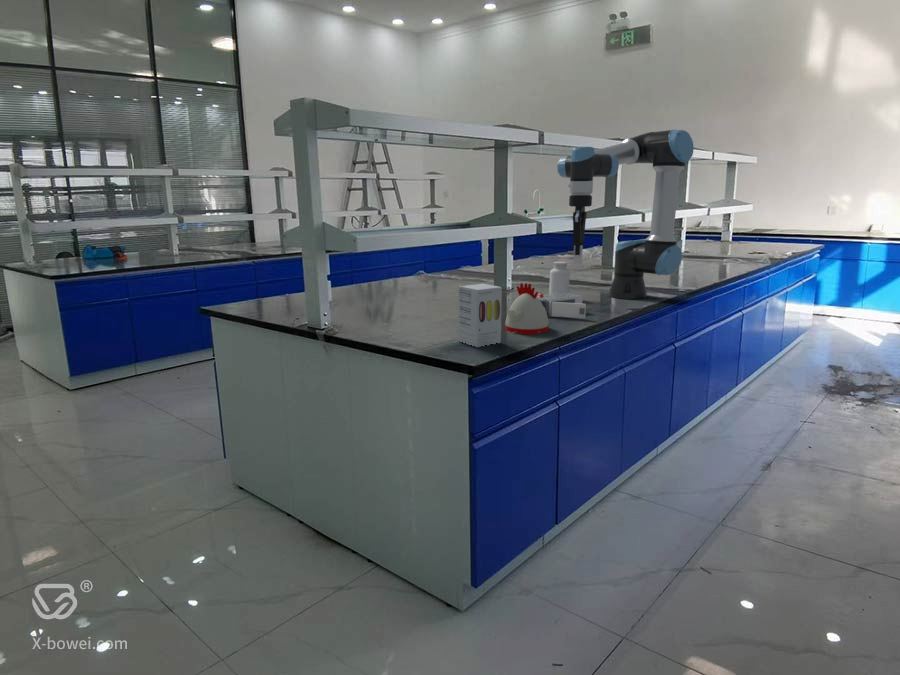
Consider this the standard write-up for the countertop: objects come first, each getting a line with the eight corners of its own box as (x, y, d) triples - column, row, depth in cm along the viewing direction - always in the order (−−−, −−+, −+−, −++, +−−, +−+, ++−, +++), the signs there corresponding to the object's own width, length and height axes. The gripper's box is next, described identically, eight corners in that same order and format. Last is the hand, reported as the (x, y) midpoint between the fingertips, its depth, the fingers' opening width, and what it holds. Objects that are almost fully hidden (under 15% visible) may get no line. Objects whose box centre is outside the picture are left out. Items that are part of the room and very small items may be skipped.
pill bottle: (568, 300, 243) (570, 263, 240) (548, 300, 245) (549, 263, 241) (569, 297, 251) (570, 261, 247) (549, 296, 252) (550, 260, 249)
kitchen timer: (524, 322, 205) (525, 278, 201) (557, 329, 195) (558, 283, 192) (496, 329, 196) (496, 283, 192) (529, 336, 186) (530, 288, 182)
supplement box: (476, 348, 173) (476, 289, 169) (457, 341, 180) (457, 285, 176) (502, 343, 179) (502, 286, 174) (482, 337, 186) (482, 282, 182)
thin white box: (585, 318, 209) (585, 303, 208) (584, 319, 208) (585, 303, 207) (549, 316, 214) (549, 301, 213) (548, 316, 212) (548, 301, 211)
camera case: (564, 307, 229) (565, 290, 228) (582, 312, 221) (582, 294, 219) (523, 312, 221) (524, 294, 219) (540, 317, 212) (541, 298, 211)
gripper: (573, 194, 212) (570, 261, 218) (565, 194, 200) (563, 265, 206) (594, 194, 209) (591, 262, 215) (588, 194, 198) (585, 266, 203)
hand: (577, 264), depth 210 cm, fingers closed
